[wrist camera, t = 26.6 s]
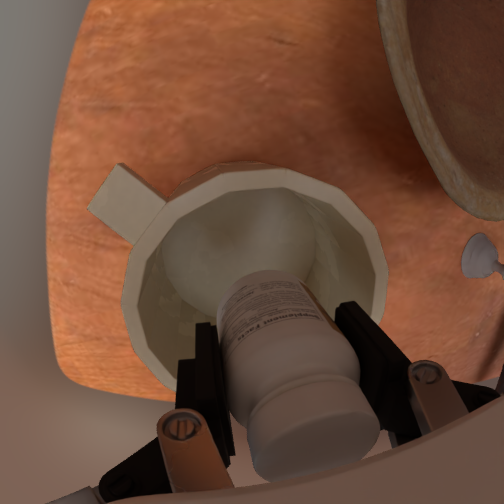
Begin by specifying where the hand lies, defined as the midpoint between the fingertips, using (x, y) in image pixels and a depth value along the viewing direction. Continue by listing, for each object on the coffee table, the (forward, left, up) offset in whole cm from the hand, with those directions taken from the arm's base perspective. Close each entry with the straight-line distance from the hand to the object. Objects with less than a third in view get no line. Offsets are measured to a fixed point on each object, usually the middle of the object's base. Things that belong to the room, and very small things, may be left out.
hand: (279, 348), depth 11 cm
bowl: (-24, +4, -12) cm, 27 cm away
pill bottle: (0, 0, -3) cm, 3 cm away
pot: (0, 0, -12) cm, 12 cm away
